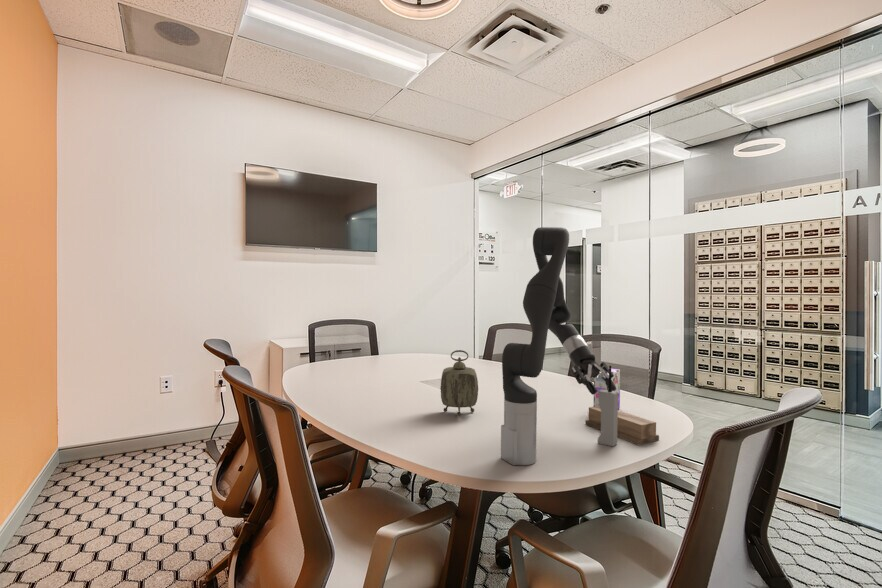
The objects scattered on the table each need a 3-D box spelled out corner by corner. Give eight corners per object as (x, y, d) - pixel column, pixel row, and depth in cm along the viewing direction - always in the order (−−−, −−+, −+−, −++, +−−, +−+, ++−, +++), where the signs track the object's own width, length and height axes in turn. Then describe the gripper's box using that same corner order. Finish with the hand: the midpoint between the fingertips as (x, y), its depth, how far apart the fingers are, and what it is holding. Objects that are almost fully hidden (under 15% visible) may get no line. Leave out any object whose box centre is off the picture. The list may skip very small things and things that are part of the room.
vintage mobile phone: (601, 440, 136) (602, 363, 135) (617, 443, 132) (618, 365, 132) (597, 443, 133) (598, 365, 132) (613, 447, 130) (614, 367, 129)
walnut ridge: (638, 444, 132) (638, 425, 132) (585, 424, 151) (585, 407, 151) (658, 439, 136) (659, 421, 136) (605, 420, 156) (605, 404, 156)
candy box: (607, 416, 162) (608, 373, 162) (592, 412, 166) (593, 371, 166) (620, 408, 172) (620, 369, 172) (606, 406, 176) (606, 367, 176)
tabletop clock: (476, 411, 166) (477, 349, 166) (478, 418, 157) (478, 352, 157) (440, 410, 167) (441, 348, 167) (440, 417, 158) (440, 351, 158)
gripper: (568, 345, 138) (595, 387, 128) (599, 343, 145) (627, 383, 134) (557, 359, 143) (581, 400, 133) (587, 356, 149) (613, 395, 139)
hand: (604, 391), depth 134 cm, fingers open, 8 cm apart
